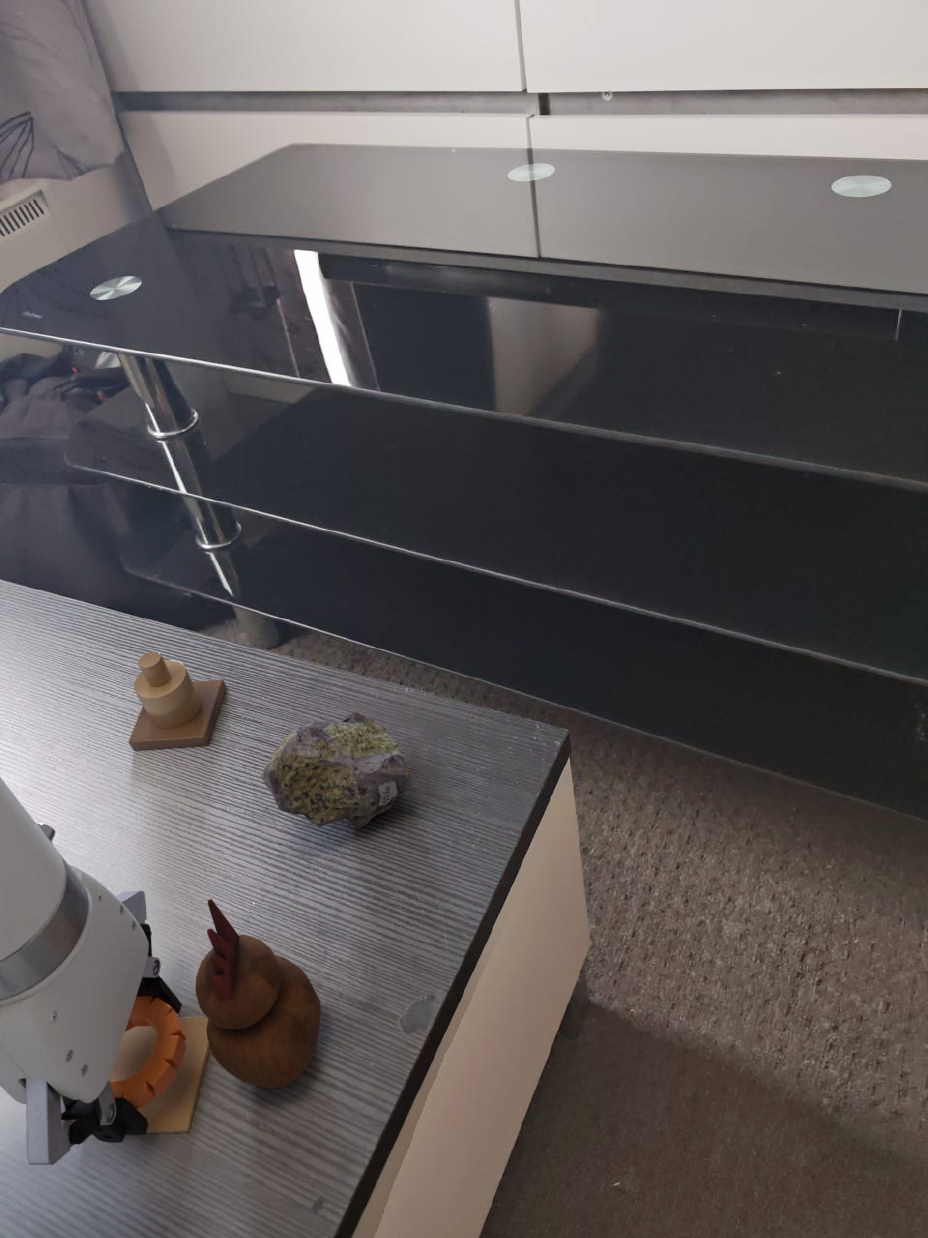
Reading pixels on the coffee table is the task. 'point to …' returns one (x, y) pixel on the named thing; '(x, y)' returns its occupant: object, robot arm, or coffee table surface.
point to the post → (173, 705)
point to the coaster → (182, 1093)
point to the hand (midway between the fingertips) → (142, 1067)
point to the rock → (337, 771)
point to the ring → (164, 1056)
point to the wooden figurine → (256, 1008)
